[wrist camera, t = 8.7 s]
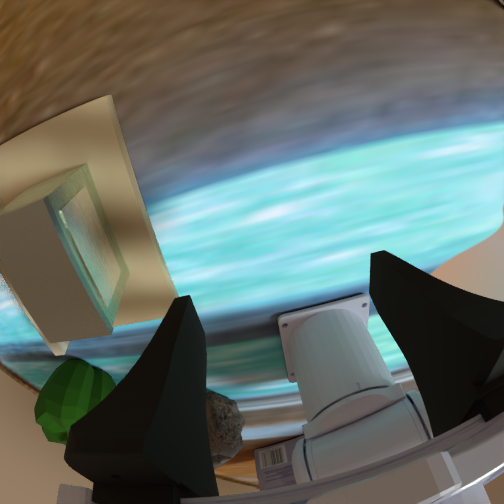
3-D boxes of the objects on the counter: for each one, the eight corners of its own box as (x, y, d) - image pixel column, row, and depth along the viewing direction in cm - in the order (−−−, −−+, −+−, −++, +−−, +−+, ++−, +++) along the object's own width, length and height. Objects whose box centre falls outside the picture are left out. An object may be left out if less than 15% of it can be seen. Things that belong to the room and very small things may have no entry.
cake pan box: (258, 460, 42) (275, 560, 27) (244, 450, 39) (260, 561, 24) (378, 418, 40) (416, 518, 24) (374, 404, 37) (418, 516, 22)
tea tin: (31, 184, 17) (-19, 226, 12) (88, 161, 17) (43, 198, 12) (77, 285, 21) (49, 343, 16) (131, 272, 21) (112, 334, 16)
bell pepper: (43, 373, 27) (19, 450, 19) (63, 335, 25) (31, 426, 16) (108, 406, 31) (97, 482, 22) (139, 376, 28) (128, 467, 20)
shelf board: (181, 304, 24) (179, 338, 21) (66, 325, 24) (53, 355, 21) (111, 94, 16) (90, 98, 13) (-16, 156, 16) (-46, 172, 13)
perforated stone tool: (206, 444, 37) (209, 488, 31) (168, 438, 36) (168, 484, 30) (252, 386, 31) (262, 444, 25) (203, 376, 29) (205, 438, 23)
